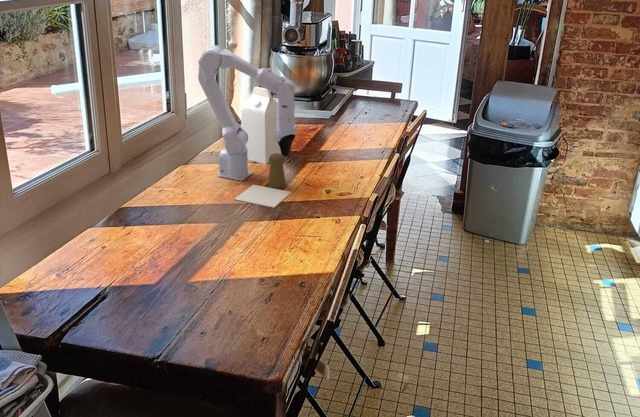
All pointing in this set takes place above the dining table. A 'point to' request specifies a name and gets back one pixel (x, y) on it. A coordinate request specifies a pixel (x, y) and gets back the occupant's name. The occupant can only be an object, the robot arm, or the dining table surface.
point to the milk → (260, 125)
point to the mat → (263, 196)
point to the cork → (276, 171)
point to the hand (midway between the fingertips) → (285, 155)
